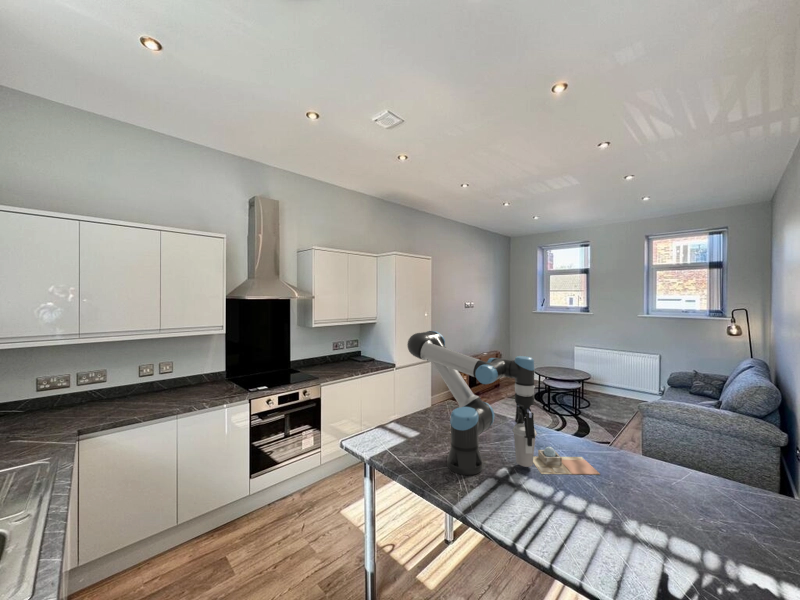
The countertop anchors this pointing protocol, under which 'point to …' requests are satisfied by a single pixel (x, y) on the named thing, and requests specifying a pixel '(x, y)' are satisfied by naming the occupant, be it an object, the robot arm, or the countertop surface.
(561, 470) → the board
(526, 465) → the coffee cup
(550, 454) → the dome
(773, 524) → the countertop surface
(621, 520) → the countertop surface
